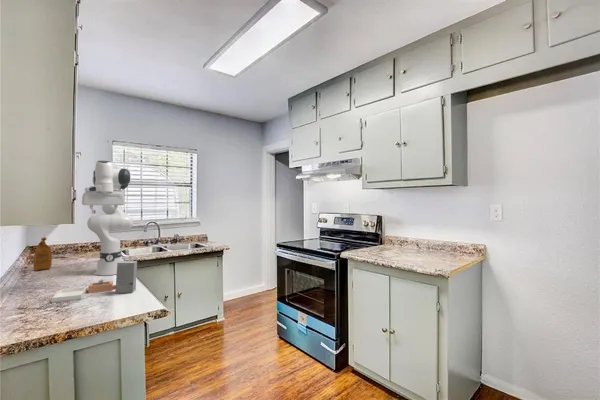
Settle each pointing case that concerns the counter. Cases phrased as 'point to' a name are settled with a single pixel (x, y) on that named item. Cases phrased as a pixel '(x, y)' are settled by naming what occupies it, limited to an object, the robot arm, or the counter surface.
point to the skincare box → (126, 277)
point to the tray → (69, 294)
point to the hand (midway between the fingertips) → (103, 213)
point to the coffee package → (42, 256)
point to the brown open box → (101, 287)
